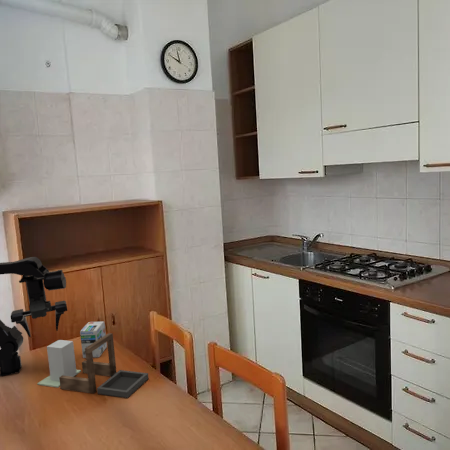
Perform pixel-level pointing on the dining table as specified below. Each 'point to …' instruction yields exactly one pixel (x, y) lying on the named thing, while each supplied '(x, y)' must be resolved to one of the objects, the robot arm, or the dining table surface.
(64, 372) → the block
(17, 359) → the robot arm
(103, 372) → the wooden gate frame
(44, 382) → the pad
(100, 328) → the light bulb box
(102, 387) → the box
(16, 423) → the dining table surface
